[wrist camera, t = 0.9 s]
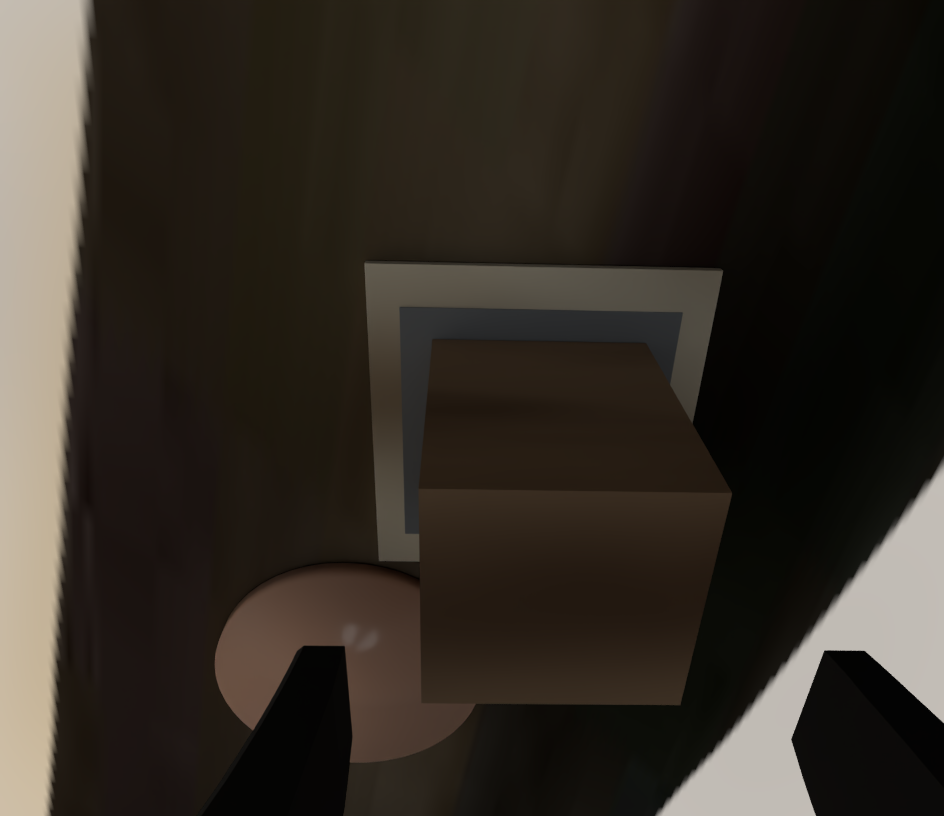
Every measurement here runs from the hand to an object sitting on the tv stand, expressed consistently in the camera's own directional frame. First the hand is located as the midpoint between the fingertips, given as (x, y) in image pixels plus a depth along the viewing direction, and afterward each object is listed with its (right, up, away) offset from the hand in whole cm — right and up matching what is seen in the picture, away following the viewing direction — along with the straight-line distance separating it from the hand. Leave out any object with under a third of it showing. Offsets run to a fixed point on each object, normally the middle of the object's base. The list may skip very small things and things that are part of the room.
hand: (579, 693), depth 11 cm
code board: (0, +4, +7) cm, 8 cm away
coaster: (-5, -4, +11) cm, 13 cm away
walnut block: (0, +4, +7) cm, 8 cm away
